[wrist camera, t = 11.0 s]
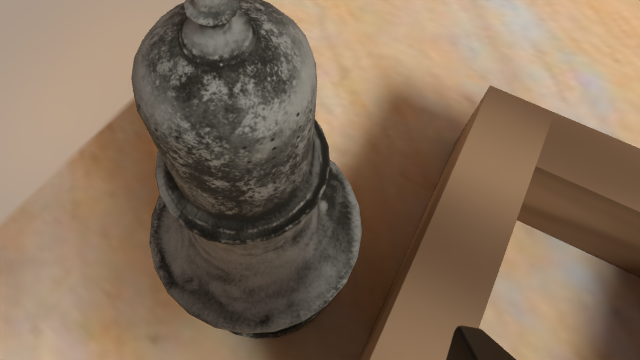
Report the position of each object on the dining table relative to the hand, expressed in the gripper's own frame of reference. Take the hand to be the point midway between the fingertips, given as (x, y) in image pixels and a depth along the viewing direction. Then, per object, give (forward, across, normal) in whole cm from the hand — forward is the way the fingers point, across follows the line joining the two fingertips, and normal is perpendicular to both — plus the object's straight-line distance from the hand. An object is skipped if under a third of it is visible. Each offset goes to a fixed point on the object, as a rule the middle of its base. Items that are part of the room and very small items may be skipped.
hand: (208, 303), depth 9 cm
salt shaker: (+7, 0, +3) cm, 8 cm away
